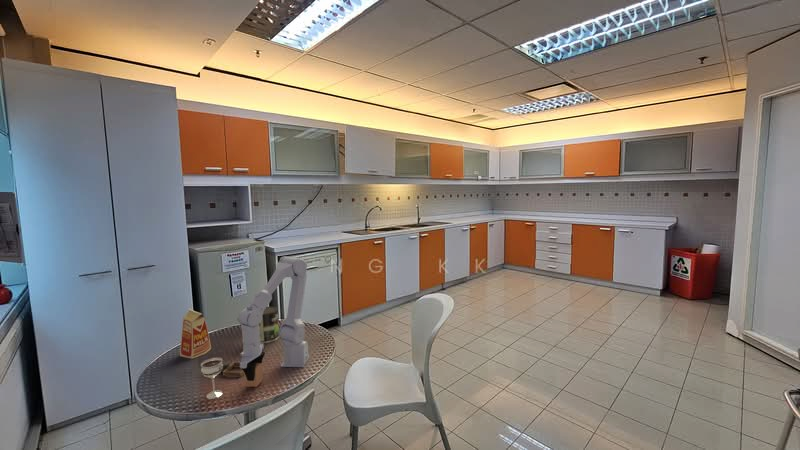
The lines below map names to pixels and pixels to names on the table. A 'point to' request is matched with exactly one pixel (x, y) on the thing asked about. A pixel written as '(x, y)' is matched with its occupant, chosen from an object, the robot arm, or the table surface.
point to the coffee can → (269, 325)
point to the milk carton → (194, 335)
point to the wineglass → (212, 373)
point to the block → (255, 377)
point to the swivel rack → (228, 367)
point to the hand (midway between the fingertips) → (253, 376)
